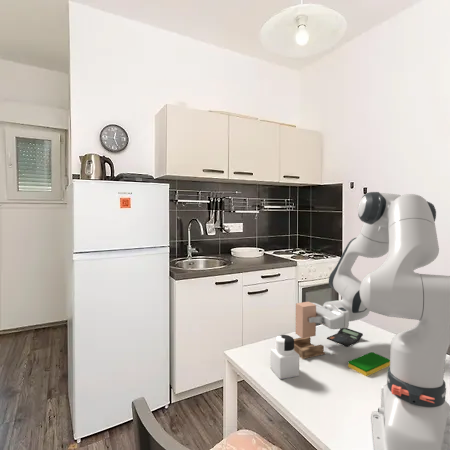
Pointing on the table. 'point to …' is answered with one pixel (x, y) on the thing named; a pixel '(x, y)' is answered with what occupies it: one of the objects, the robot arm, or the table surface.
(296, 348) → the tray
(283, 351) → the medicine bottle
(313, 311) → the clay block
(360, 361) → the dish sponge
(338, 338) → the calculator
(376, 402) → the table surface
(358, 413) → the table surface
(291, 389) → the table surface
